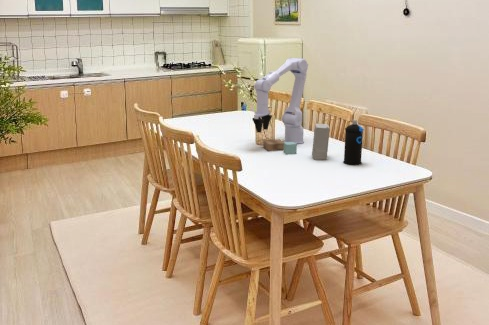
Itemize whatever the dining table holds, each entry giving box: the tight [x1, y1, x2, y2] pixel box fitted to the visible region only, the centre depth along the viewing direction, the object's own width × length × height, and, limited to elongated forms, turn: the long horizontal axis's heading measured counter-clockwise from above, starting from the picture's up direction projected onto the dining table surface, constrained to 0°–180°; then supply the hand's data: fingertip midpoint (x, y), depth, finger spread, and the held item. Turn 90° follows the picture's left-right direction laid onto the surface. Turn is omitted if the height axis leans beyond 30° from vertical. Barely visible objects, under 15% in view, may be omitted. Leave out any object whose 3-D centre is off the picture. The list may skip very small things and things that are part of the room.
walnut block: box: [262, 138, 284, 152], centre depth 266 cm, size 9×9×4 cm
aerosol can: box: [342, 119, 365, 166], centre depth 238 cm, size 8×8×20 cm
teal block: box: [283, 142, 298, 156], centre depth 258 cm, size 5×5×5 cm
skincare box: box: [311, 123, 331, 161], centre depth 247 cm, size 8×7×16 cm
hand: (262, 130), depth 264 cm, fingers open, 7 cm apart
